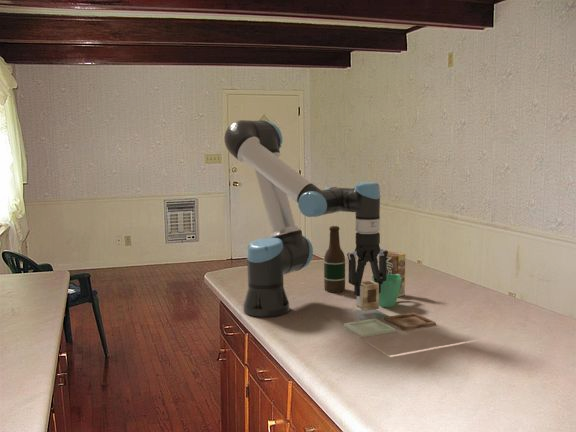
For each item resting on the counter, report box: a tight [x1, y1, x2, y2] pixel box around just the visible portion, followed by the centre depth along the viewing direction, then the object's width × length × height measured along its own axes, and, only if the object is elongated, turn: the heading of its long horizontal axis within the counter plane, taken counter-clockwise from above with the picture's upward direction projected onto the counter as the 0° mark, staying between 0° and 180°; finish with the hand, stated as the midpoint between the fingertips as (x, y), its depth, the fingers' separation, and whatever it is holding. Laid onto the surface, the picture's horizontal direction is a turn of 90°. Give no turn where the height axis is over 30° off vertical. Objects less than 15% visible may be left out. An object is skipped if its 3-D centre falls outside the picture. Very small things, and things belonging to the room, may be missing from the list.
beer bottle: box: [323, 225, 346, 294], centre depth 210 cm, size 8×8×24 cm
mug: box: [371, 274, 402, 308], centre depth 191 cm, size 15×10×10 cm
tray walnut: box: [383, 312, 437, 331], centre depth 171 cm, size 11×11×1 cm
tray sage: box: [343, 318, 397, 339], centre depth 166 cm, size 11×11×1 cm
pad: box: [345, 309, 389, 321], centre depth 179 cm, size 10×10×1 cm
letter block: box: [356, 279, 380, 311], centre depth 178 cm, size 5×5×8 cm
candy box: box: [386, 250, 406, 298], centre depth 203 cm, size 9×4×15 cm, turn 39°
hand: (367, 304), depth 179 cm, fingers closed on letter block, 5 cm apart
